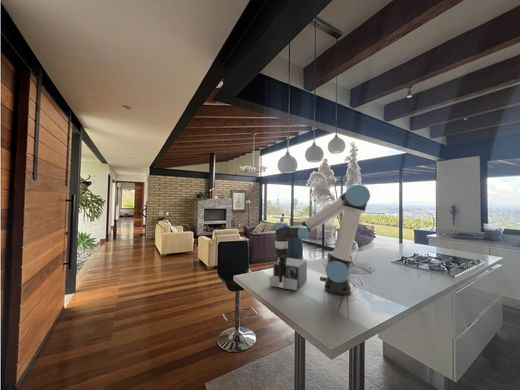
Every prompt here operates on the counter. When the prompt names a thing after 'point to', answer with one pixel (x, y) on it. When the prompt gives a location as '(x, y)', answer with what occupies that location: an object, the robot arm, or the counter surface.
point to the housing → (301, 269)
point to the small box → (291, 273)
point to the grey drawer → (288, 282)
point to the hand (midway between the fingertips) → (281, 287)
